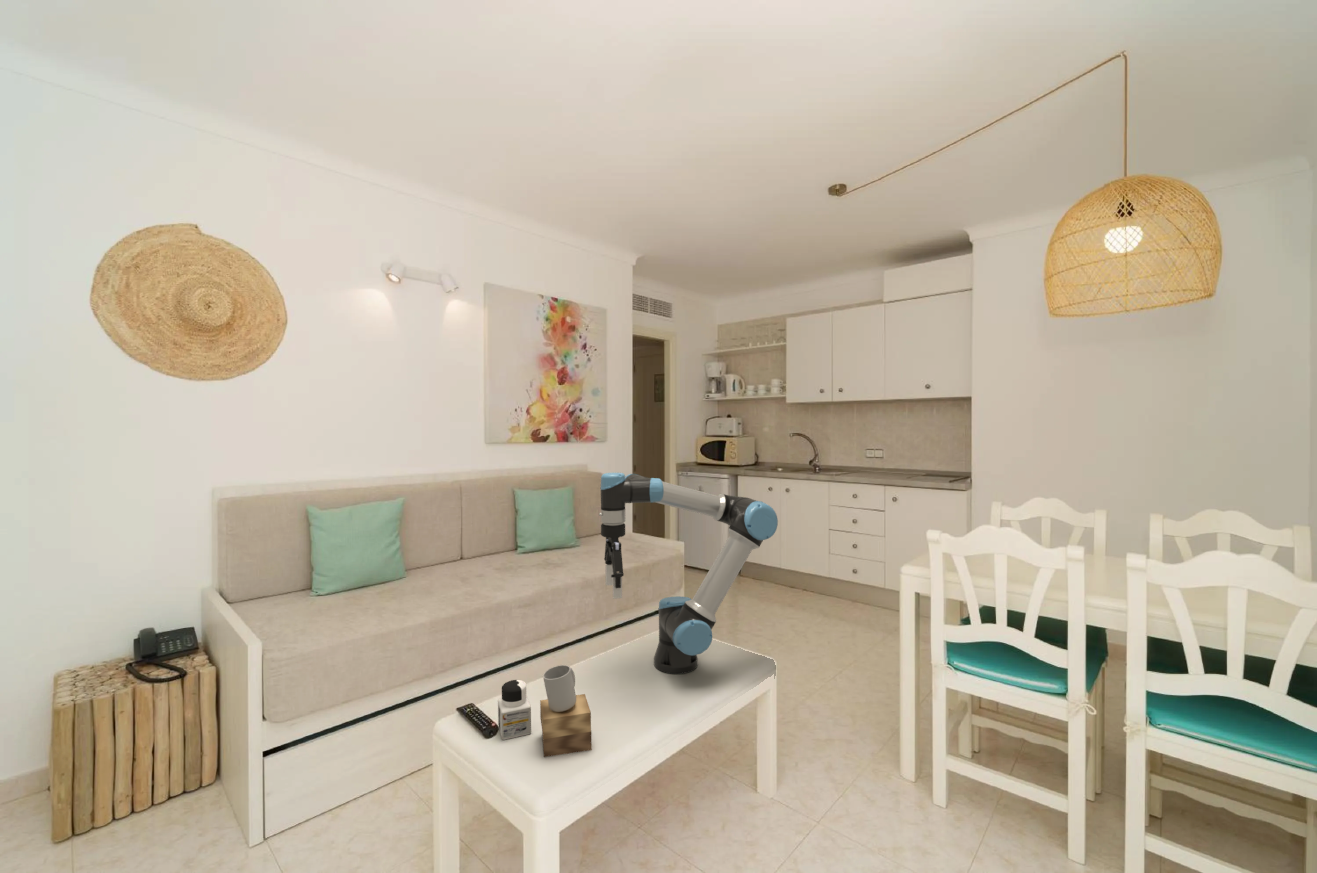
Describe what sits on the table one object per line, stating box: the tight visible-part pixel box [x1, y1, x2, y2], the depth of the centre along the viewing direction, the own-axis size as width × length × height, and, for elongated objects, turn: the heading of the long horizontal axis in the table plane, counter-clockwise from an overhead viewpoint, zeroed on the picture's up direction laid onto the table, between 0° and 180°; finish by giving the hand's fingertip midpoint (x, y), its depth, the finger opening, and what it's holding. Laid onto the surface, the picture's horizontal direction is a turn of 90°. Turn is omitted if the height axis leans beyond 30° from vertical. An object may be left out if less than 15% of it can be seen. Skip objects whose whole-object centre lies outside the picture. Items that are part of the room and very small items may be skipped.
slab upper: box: [539, 693, 592, 740], centre depth 146 cm, size 12×10×5 cm
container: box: [497, 679, 532, 741], centre depth 152 cm, size 8×8×13 cm
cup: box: [542, 664, 577, 712], centre depth 146 cm, size 7×10×9 cm
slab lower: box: [541, 731, 593, 758], centre depth 146 cm, size 12×10×5 cm
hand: (613, 591), depth 172 cm, fingers open, 13 cm apart
